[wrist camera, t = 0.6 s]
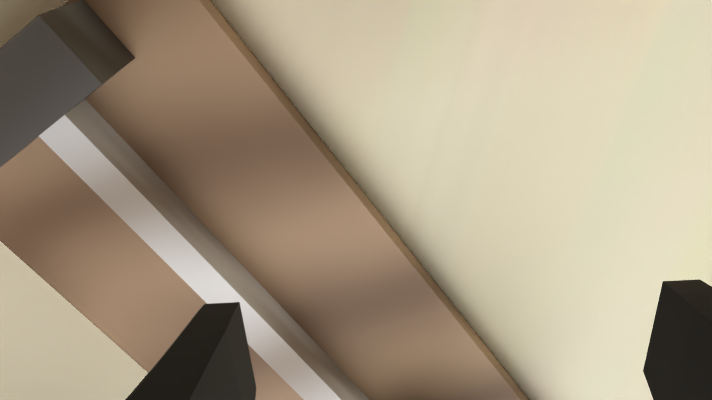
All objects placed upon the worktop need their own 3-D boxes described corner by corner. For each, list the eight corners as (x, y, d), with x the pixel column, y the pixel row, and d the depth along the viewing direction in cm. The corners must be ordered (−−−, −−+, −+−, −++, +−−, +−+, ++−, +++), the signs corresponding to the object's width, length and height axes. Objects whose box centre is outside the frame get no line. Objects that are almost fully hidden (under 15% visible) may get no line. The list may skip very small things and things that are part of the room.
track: (580, 464, 27) (622, 554, 23) (389, 564, 29) (400, 663, 25) (156, -67, 18) (111, -62, 14) (-80, 136, 20) (-175, 188, 16)
